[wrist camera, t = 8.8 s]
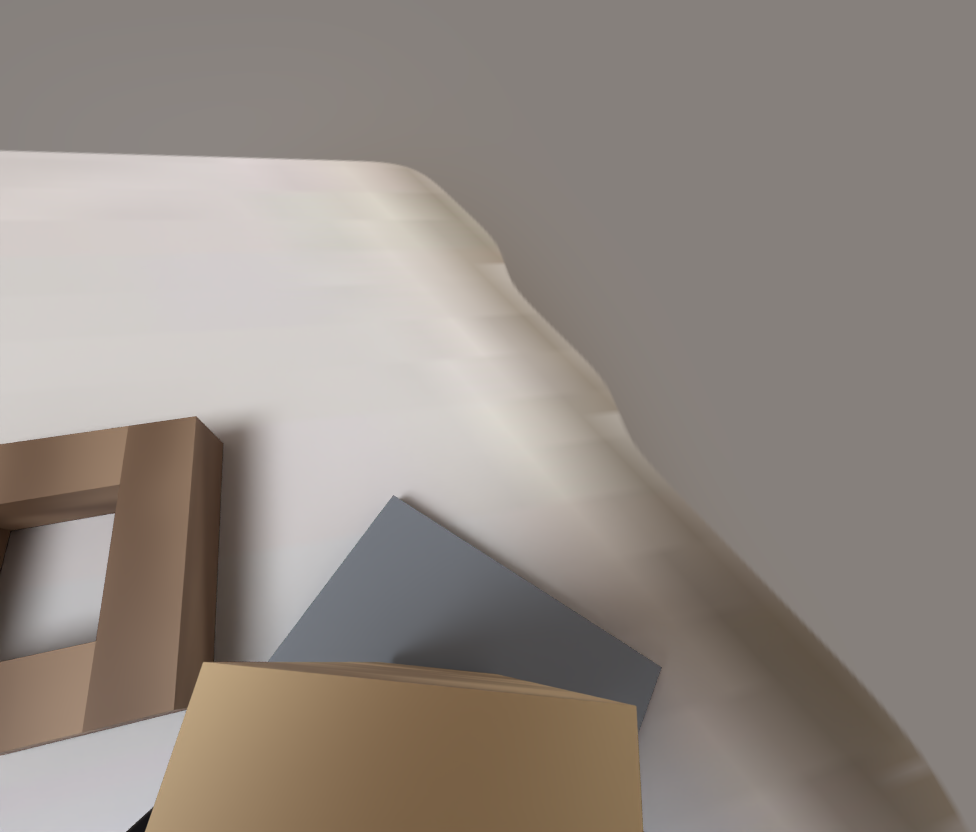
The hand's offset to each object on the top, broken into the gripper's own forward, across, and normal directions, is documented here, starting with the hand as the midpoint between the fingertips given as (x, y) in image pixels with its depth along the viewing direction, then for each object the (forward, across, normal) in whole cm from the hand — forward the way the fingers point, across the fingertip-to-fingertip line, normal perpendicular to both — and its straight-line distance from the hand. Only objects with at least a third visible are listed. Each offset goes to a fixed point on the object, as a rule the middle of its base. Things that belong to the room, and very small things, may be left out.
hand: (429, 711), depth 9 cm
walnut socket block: (+8, +14, +5) cm, 17 cm away
